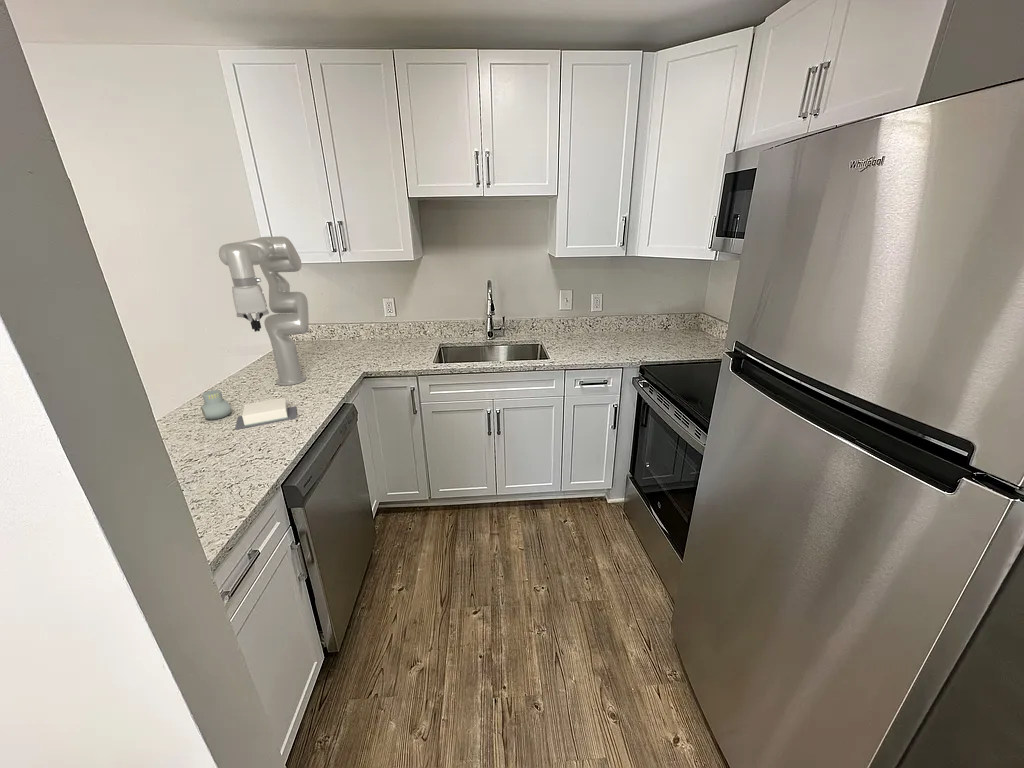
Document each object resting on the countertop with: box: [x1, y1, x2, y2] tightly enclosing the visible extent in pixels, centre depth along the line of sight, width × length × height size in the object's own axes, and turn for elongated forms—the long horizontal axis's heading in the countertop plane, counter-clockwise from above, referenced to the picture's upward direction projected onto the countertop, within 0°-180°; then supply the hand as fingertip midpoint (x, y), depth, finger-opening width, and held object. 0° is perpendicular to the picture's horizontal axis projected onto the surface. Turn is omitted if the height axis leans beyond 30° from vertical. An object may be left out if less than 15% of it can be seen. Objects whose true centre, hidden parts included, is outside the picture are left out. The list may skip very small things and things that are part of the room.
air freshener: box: [200, 389, 232, 421], centre depth 161 cm, size 11×8×10 cm
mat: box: [234, 405, 298, 431], centre depth 160 cm, size 12×20×1 cm, turn 117°
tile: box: [241, 397, 289, 426], centre depth 160 cm, size 4×14×12 cm
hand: (257, 330), depth 162 cm, fingers closed
